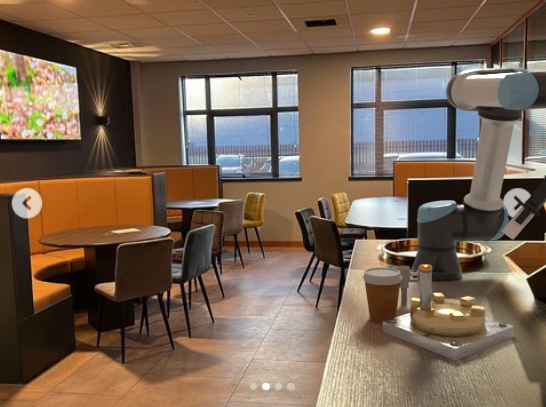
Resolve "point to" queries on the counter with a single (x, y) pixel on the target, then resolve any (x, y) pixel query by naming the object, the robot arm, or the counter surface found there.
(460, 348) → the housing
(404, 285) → the mechanical component
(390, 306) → the disposable coffee cup
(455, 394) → the counter surface
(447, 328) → the brass turntable plate
